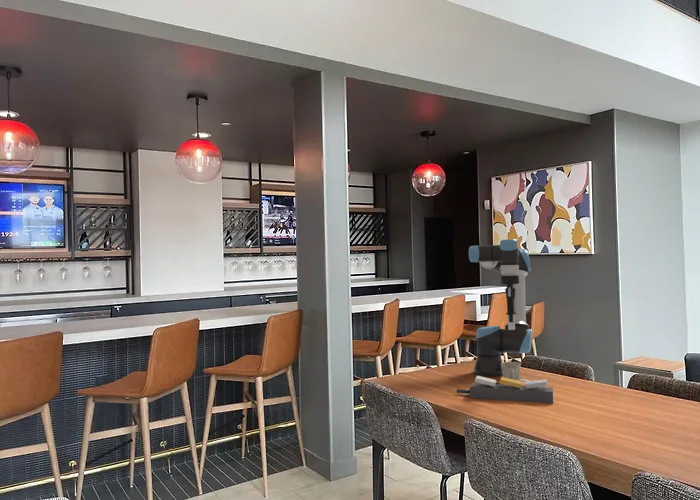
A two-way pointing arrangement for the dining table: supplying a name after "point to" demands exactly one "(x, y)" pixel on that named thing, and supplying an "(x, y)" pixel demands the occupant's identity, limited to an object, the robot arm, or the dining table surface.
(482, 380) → the block
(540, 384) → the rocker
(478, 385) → the power strip
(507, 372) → the mug
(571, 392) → the dining table surface
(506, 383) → the block
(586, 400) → the dining table surface
